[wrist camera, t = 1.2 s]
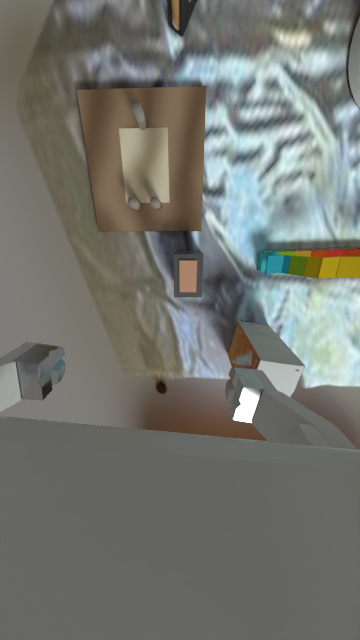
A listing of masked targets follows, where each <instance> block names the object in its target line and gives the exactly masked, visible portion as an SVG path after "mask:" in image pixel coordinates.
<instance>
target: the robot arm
mask: <svg viewBox="0 0 360 640" xmlns="http://www.w3.org/2000/svg"><path fill="white" fill-rule="evenodd" d="M348 70H349V83H350V88H351V92H352V95H353V97H354V100H355V102H356V103H357V105H358V107H359V108H360V17H359V20H358V22H357V25H356V28H355V31H354V34H353V38H352V43H351V47H350V54H349V66H348ZM64 355H65V353H64V348H63V347H62V346H54V345H48V344H40V343H32V342H26V343H24V344H22V345H21V346H19V347H18V348H16V349H14V350H13V351H11V352H9V353H8V354H6V355H4V356H3V357H1V358H0V411H2V410H4V409H5V408H8V407H9V406H11V405H13V404H15V403H17V402H18V401H20V400H21V399H31V400H44V399H45V398H46V396H47V395H48V394H49V393H50V392H51V391H52V386H53V385H55V384H57V383H59V382H60V380H61V379H62V377H63V375H64V373H65V362H64V361H63V360H62V358H63V356H64ZM229 376H230V378H231V379H230V380H228V381H227V383H226V388H225V395H226V400H227V401H228V402H229V403H230V404H231V405H230V412H231V414H232V417H233V420H239V421H246V422H252V424H253V425H254V426H255V427H256V429H258V431H259V432H260V433H261V434H262V435H263V436H264V437H265V438H266V439H267V440H268V441H258V440H248V439H237V438H226V437H215V436H205V435H194V434H183V433H174V432H163V431H152V430H142V429H131V428H121V427H110V426H99V425H89V424H78V423H68V422H57V421H47V420H36V419H26V418H15V417H5V416H0V640H360V450H357V449H356V448H355V447H354V446H353V445H352V443H351V442H350V441H349V440H348V439H347V438H346V437H345V436H344V435H343V433H342V432H341V431H340V430H339V429H338V428H337V427H336V426H335V425H333V424H331V423H330V422H328V421H327V420H325V419H323V418H322V417H320V416H319V415H317V414H316V413H314V412H312V411H311V410H309V409H308V408H306V407H305V406H303V405H301V404H300V403H298V402H296V401H295V400H293V399H292V398H290V397H289V396H287V395H286V394H284V393H282V392H280V391H277V389H276V388H275V387H274V385H273V384H272V382H271V381H270V380H269V378H268V377H267V376H266V374H265V373H264V371H262V370H256V369H245V368H234V367H232V368H231V370H230V372H229Z"/></svg>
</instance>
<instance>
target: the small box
mask: <svg viewBox="0 0 360 640" xmlns="http://www.w3.org/2000/svg"><path fill="white" fill-rule="evenodd" d="M228 357H229V360H230V363H231V366H232V367H234V368H245V369H256V370H262V371H264V373H265V374H266V376H267V377H268V378H269V380H270V381H271V382H272V384H273V385H274V387H275V388H276V389H277V391H280V392H282V393H284V394H286V395H287V396H289V397H291V395H292V393H293V391H294V390H295V388H296V385H297V383H298V380H299V378H300V376H301V374H302V372H303V370H304V368H305V365H304V364H303V363H302V362H301V361H300V360H299V358H298V357H297V356H296V355H295V354H294V353H293V352H292V351H291V350H290V349H289V347H288V346H287V345H286V344H285V343H284V342H283V341H282V340H281V339H280V337H279V336H278V335H277V334H276V333H275V332H274V331H273V330H272V329H271V327H270V326H269V325H264V324H257V323H250V322H243V321H237V324H236V328H235V332H234V336H233V339H232V342H231V346H230V349H229V352H228Z"/></svg>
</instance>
